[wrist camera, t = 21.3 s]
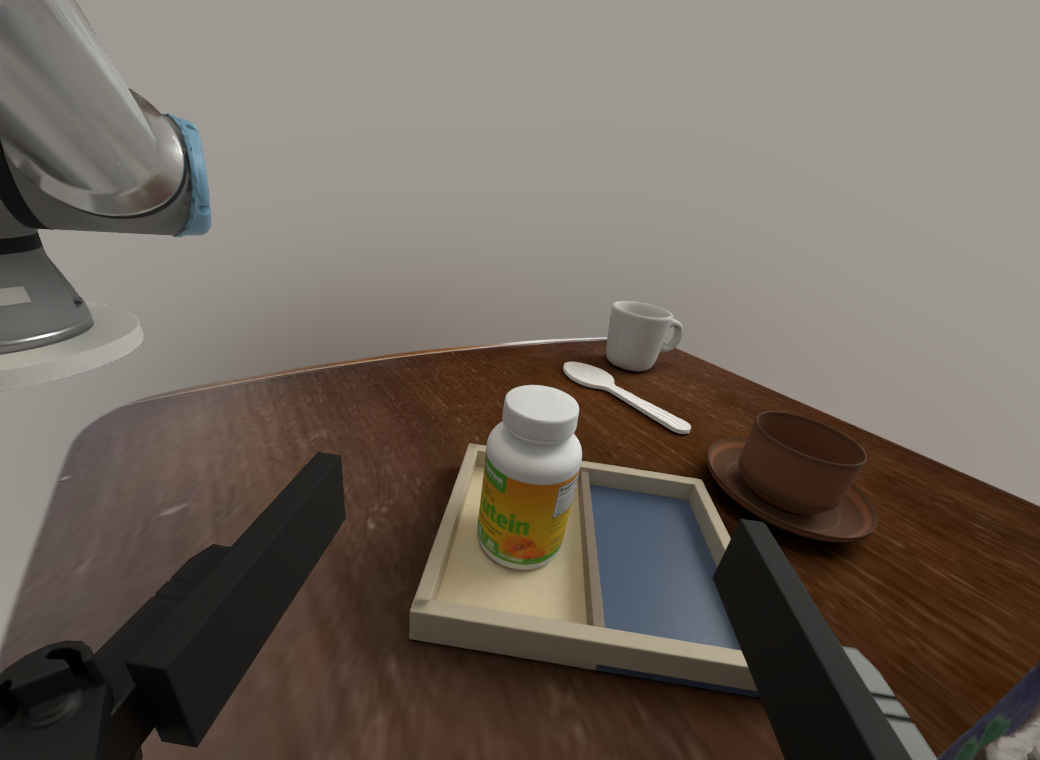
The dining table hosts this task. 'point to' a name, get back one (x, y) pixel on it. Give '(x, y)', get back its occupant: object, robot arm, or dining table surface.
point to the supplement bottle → (529, 477)
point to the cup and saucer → (796, 477)
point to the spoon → (622, 394)
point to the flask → (1005, 727)
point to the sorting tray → (593, 583)
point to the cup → (639, 334)
